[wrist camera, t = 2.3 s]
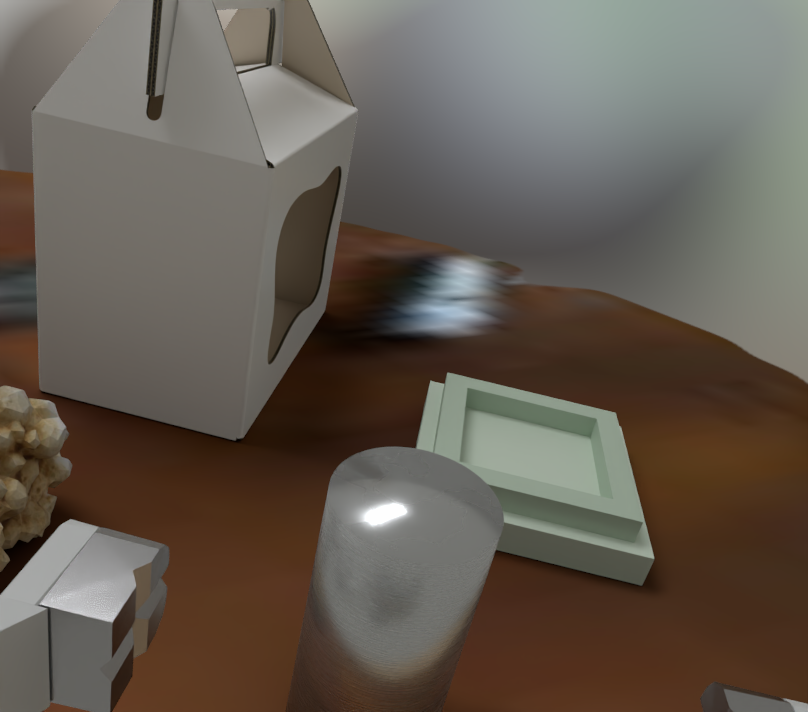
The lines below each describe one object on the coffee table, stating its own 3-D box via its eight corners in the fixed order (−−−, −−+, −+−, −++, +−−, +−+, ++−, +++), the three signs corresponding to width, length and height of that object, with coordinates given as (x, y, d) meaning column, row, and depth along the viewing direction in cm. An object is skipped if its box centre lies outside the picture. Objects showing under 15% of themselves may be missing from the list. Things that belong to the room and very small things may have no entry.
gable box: (239, 446, 46) (300, -67, 33) (35, 394, 46) (18, -131, 34) (325, 310, 66) (385, -43, 53) (182, 275, 66) (206, -84, 54)
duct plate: (399, 526, 42) (411, 476, 41) (424, 404, 55) (435, 362, 53) (642, 585, 42) (664, 538, 40) (611, 449, 54) (627, 409, 53)
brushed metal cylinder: (264, 779, 28) (309, 536, 22) (304, 653, 33) (348, 431, 28) (420, 819, 28) (503, 583, 22) (434, 686, 33) (504, 469, 28)
